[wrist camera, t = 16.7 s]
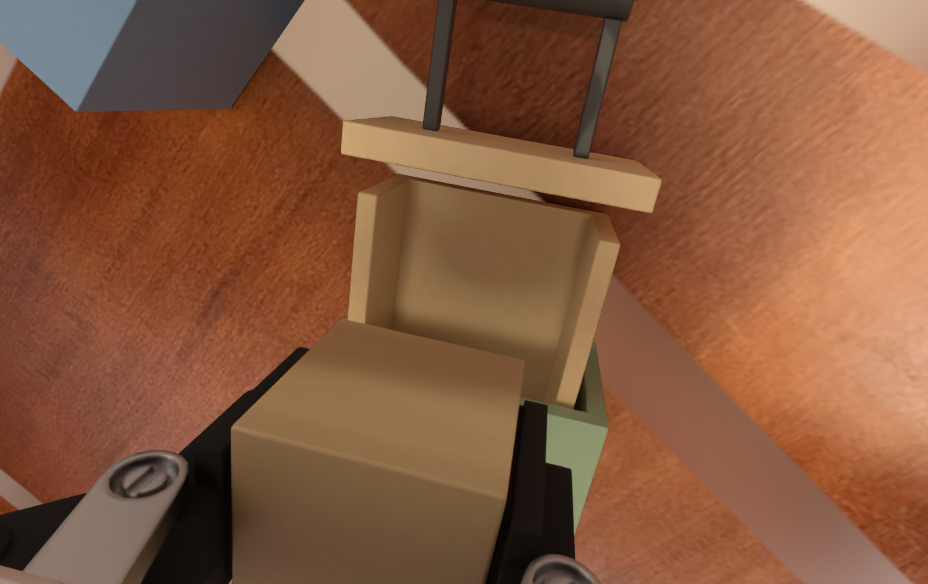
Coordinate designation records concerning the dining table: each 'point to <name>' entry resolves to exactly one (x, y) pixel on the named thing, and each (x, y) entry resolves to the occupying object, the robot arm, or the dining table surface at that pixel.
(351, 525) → the block
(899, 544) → the dining table surface
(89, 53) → the block
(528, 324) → the drawer
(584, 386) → the cabinet
